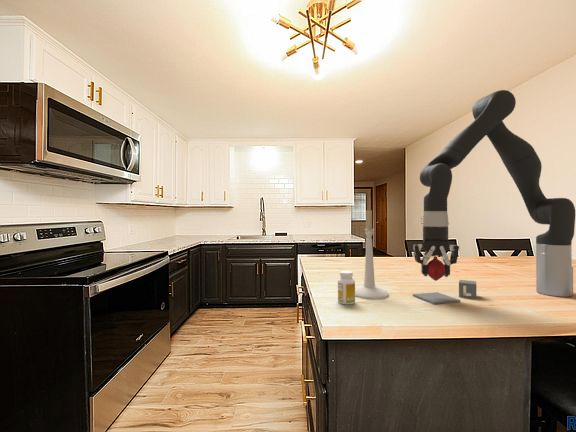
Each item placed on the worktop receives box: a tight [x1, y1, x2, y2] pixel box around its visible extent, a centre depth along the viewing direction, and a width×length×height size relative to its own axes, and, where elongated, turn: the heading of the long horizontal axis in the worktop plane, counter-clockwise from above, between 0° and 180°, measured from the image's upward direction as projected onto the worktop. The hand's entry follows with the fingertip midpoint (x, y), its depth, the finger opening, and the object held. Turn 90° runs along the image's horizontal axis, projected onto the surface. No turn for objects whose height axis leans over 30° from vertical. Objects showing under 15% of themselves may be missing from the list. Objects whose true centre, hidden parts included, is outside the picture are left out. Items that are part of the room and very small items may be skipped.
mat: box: [412, 291, 461, 305], centre depth 98 cm, size 10×10×1 cm
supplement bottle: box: [337, 270, 356, 305], centre depth 94 cm, size 5×5×10 cm
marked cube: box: [458, 279, 477, 300], centre depth 100 cm, size 5×5×5 cm
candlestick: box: [355, 209, 390, 300], centre depth 104 cm, size 13×13×30 cm
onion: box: [426, 256, 446, 281], centre depth 98 cm, size 6×6×8 cm
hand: (435, 275), depth 98 cm, fingers closed on onion, 5 cm apart
